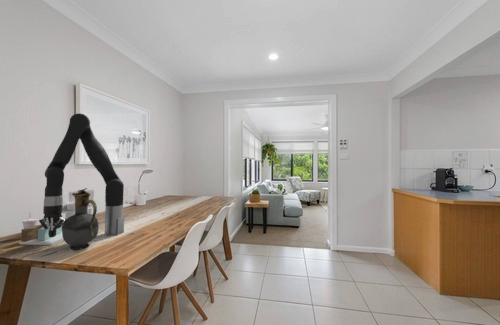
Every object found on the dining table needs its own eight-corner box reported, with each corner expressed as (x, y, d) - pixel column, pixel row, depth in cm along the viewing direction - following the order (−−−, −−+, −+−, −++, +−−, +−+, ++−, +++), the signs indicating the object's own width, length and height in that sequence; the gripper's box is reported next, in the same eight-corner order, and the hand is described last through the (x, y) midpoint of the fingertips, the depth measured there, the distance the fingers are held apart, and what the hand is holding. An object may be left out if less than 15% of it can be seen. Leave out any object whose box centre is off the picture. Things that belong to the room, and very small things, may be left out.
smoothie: (18, 239, 118) (20, 213, 118) (24, 235, 123) (25, 211, 124) (34, 237, 121) (35, 212, 121) (39, 234, 126) (40, 210, 127)
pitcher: (82, 241, 115) (84, 186, 116) (105, 247, 108) (107, 188, 109) (58, 248, 105) (60, 188, 106) (81, 255, 98) (84, 190, 99)
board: (82, 233, 130) (82, 231, 130) (51, 245, 110) (51, 242, 110) (55, 232, 130) (55, 230, 130) (19, 244, 110) (19, 242, 110)
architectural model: (80, 230, 135) (82, 194, 136) (43, 231, 132) (45, 194, 133) (104, 220, 163) (105, 189, 163) (74, 220, 160) (75, 189, 160)
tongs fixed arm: (48, 232, 125) (49, 222, 126) (53, 232, 125) (54, 222, 126) (21, 241, 110) (21, 229, 111) (26, 241, 110) (27, 229, 111)
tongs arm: (55, 231, 128) (55, 220, 128) (63, 231, 129) (64, 219, 129) (34, 241, 111) (35, 228, 111) (44, 241, 112) (45, 227, 112)
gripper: (71, 203, 117) (70, 234, 117) (47, 203, 117) (46, 234, 117) (59, 205, 110) (58, 239, 109) (33, 205, 110) (32, 239, 109)
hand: (52, 236), depth 113 cm, fingers closed
